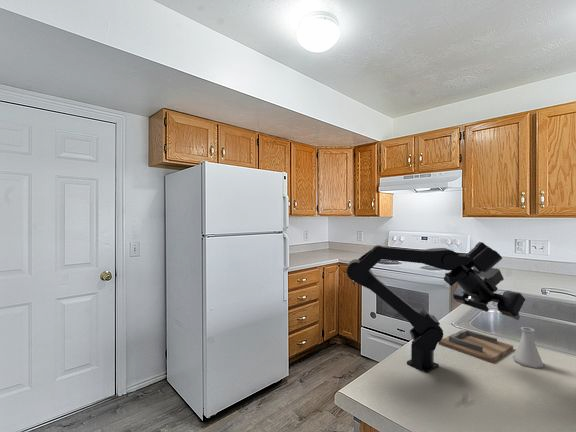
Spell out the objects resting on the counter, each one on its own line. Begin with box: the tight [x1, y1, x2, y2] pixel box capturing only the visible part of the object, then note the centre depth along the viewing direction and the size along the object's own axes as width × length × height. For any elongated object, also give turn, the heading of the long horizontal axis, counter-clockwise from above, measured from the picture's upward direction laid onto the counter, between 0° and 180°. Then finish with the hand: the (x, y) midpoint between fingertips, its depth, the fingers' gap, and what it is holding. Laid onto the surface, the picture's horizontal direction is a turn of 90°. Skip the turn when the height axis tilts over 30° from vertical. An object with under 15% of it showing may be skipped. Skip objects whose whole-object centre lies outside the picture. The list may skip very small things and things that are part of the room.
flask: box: [512, 326, 545, 369], centre depth 89 cm, size 7×7×10 cm
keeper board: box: [438, 328, 514, 364], centre depth 100 cm, size 16×16×3 cm
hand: (502, 314), depth 89 cm, fingers open, 9 cm apart
